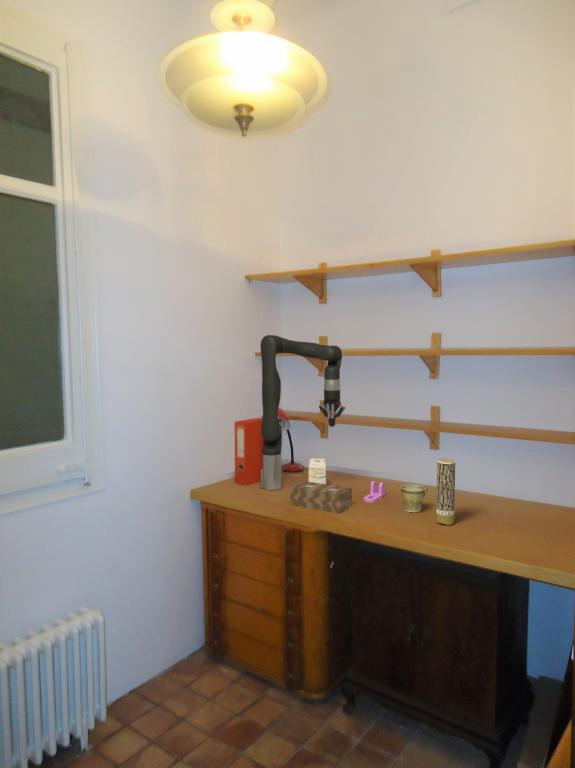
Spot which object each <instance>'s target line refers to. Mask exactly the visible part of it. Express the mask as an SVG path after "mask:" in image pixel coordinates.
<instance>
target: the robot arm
mask: <svg viewBox="0 0 575 768" xmlns="http://www.w3.org/2000/svg"><path fill="white" fill-rule="evenodd" d="M259 346H260V356H261V357H260V358H261V378H262V380H261V400H262V401H261V402H262V403H261V404H262V418H263V419H262V428H261V434H262V436H263V438H264V442H263V449H262V456H263V468H262V469H261V482H260V488H261V489H263V490H265V491H278V490H281V489H282V445H283V442H282V441H283V429H282V426H281V423H280V422H279V407H280V402H281V401H280V400H281V395H282V392H281V391H282V381H281V377H280V373H279V371H278V369H277V364H276V363H277V362H276V361H277V359H276V358H277V357H276V355H278V354H291V355H292V354H293V355H297V356H300V357H305V358H311V359H318V360H322V361H326V362H327V364H326V367H325V368H324V373H323V374H324V375H323V376H324V380H323V402H322V404H321V405H319V406H318V408H319V409H320V411H321V413H322V414H323V416H324V417H325V418H328V426H329V427H331V428H333V427H335V426H336V419H337V418H340V417H341V415H342V414H343V412H344V411H345V410H346V407H345V406H343V405H342V402H341V376H340V375H341V374H340V373H341V372H340V371H341V370H340V369H341V365H342V360H343V353H342V352H343V351H342V349H341V347H339V346H338V345H327V344H319V343H316V342H308V341H297V340H291V339H287V338H284V337H281V336H279V335H275V334H267V335H265V336H263V337H262V339H261V340H260V345H259Z"/></svg>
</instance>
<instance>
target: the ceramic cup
mask: <svg viewBox="0 0 575 768" xmlns="http://www.w3.org/2000/svg"><path fill="white" fill-rule="evenodd" d="M400 490H401V497H402V500H403V501H402V503H403V507H404V511H405V510H406V511H408V512H418V511H420V512H421V511H422V505H423V500H424V498H425V496H426V495H427V494H428V493H429V489H428V487H425V486H422V485H419V484H404V485H401V487H400ZM406 511H405V512H406ZM408 512H407V513H408Z"/></svg>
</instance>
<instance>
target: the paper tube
mask: <svg viewBox="0 0 575 768" xmlns="http://www.w3.org/2000/svg"><path fill="white" fill-rule="evenodd" d="M455 482H456V460H455V459H450V458H439V459H437V460H436V506H435V507H436V509H435V511H436V513H435V514H436V517H435V518H436V520H435V521H436V523H437V522H439V523H443V524H451V523H455V509H456V508H455V504H456V503H455V501H456V498H455V497H456V493H455V492H456V483H455ZM439 523H438V524H439Z"/></svg>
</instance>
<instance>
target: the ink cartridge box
mask: <svg viewBox="0 0 575 768" xmlns="http://www.w3.org/2000/svg"><path fill="white" fill-rule="evenodd" d="M308 482H314V483H321V484H327V465H326V458H318V457H317V458H309V465H308Z"/></svg>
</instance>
